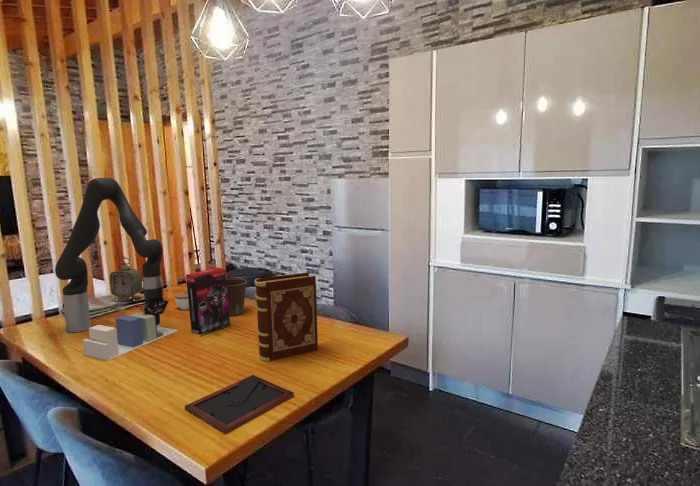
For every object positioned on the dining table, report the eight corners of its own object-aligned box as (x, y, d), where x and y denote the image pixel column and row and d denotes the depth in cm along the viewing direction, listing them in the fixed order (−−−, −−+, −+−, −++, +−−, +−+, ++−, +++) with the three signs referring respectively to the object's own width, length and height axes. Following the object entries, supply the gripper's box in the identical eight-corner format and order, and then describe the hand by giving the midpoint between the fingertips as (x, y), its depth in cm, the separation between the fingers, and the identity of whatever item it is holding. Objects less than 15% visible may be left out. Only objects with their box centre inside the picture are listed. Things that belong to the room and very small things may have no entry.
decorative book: (262, 362, 155) (258, 283, 150) (256, 355, 162) (252, 278, 157) (318, 350, 165) (316, 275, 160) (310, 343, 172) (308, 272, 167)
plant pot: (234, 306, 226) (232, 276, 223) (255, 311, 216) (253, 280, 214) (208, 314, 213) (206, 283, 210) (229, 320, 203) (227, 287, 201)
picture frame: (253, 379, 143) (185, 411, 124) (252, 373, 143) (184, 404, 124) (294, 397, 131) (225, 436, 112) (293, 391, 130) (224, 429, 111)
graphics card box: (199, 337, 181) (195, 275, 176) (189, 334, 184) (184, 274, 180) (230, 326, 195) (227, 268, 191) (220, 323, 198) (217, 266, 194)
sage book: (131, 338, 178) (129, 315, 176) (139, 335, 181) (137, 312, 180) (148, 341, 174) (146, 318, 172) (156, 338, 177) (154, 315, 176)
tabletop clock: (111, 302, 237) (107, 258, 233) (122, 297, 246) (118, 255, 242) (135, 302, 235) (130, 258, 231) (145, 298, 243) (141, 255, 240)
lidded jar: (182, 305, 229) (181, 288, 228) (201, 305, 228) (199, 288, 226) (171, 311, 219) (170, 293, 217) (190, 311, 217) (189, 294, 216)
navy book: (118, 344, 172) (115, 318, 170) (127, 340, 176) (125, 315, 174) (133, 347, 168) (130, 321, 166) (143, 343, 172) (140, 317, 170)
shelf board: (84, 357, 162) (82, 340, 161) (157, 328, 192) (156, 313, 191) (107, 363, 156) (105, 345, 155) (178, 332, 187) (177, 317, 186)
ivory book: (91, 354, 162) (88, 328, 161) (101, 350, 166) (98, 324, 164) (109, 358, 158) (106, 331, 156) (118, 354, 162) (116, 328, 160)
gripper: (159, 281, 188) (162, 319, 191) (133, 289, 176) (137, 328, 179) (171, 283, 185) (174, 321, 188) (146, 290, 173) (150, 331, 176)
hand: (156, 324), depth 183 cm, fingers closed
